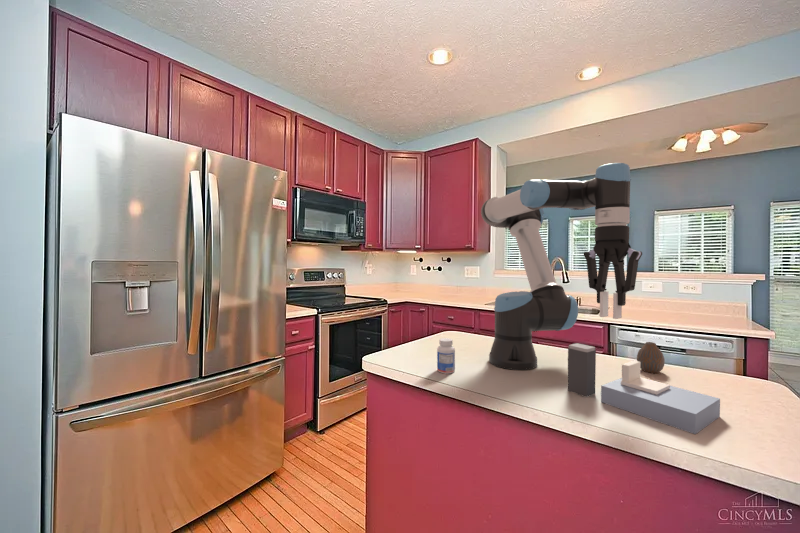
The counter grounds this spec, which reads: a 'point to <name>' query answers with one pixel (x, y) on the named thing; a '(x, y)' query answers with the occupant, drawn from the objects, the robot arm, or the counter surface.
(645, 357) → the vase
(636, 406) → the socket board
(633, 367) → the shutter
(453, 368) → the pill bottle
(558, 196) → the robot arm
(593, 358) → the plug
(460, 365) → the counter surface
